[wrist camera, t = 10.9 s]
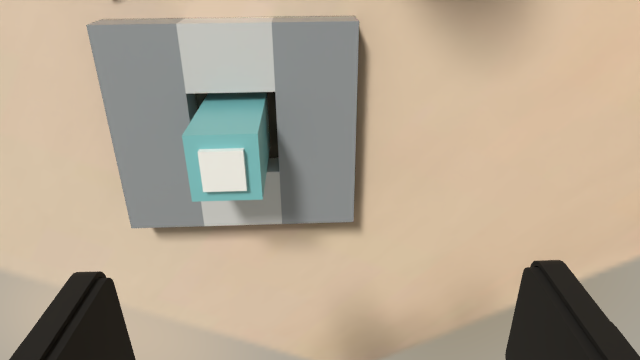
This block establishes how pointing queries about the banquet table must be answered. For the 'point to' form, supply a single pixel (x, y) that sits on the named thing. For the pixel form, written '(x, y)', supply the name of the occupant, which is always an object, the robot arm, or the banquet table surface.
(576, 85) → the banquet table surface
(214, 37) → the socket plate
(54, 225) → the banquet table surface
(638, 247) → the banquet table surface
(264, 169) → the block
